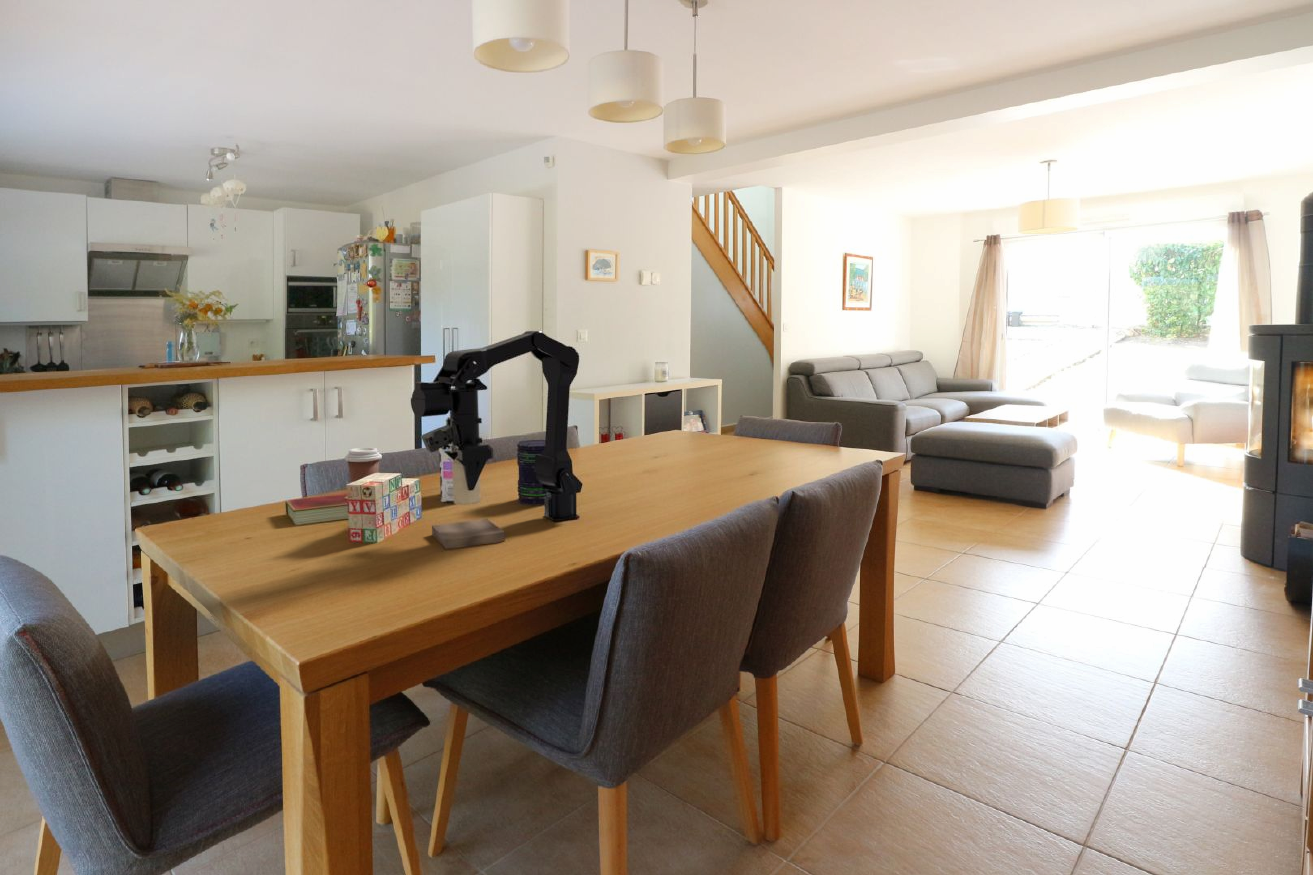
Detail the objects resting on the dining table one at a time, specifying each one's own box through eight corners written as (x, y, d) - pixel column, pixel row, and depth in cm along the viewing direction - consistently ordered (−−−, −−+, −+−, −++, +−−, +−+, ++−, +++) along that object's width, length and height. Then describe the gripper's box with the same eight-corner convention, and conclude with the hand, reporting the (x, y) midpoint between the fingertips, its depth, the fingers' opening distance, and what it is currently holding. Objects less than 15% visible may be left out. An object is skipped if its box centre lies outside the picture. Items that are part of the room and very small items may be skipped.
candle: (486, 500, 159) (484, 453, 157) (471, 506, 154) (469, 457, 152) (463, 498, 161) (462, 451, 159) (448, 503, 156) (446, 456, 154)
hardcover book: (286, 516, 177) (285, 498, 176) (378, 505, 189) (378, 488, 188) (294, 527, 167) (293, 509, 167) (391, 515, 179) (390, 497, 178)
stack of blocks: (396, 516, 176) (394, 464, 174) (422, 517, 175) (420, 465, 173) (348, 542, 155) (345, 483, 153) (377, 543, 154) (374, 484, 152)
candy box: (463, 503, 189) (461, 438, 187) (440, 503, 189) (437, 438, 187) (477, 491, 203) (475, 430, 200) (455, 491, 203) (453, 430, 201)
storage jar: (537, 494, 199) (536, 438, 197) (565, 499, 194) (564, 442, 191) (509, 501, 191) (508, 443, 189) (537, 507, 186) (536, 447, 183)
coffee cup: (352, 491, 202) (350, 446, 200) (387, 490, 203) (385, 446, 201) (342, 498, 193) (339, 452, 191) (378, 498, 194) (376, 452, 192)
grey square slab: (487, 527, 166) (487, 518, 166) (504, 541, 156) (504, 531, 156) (432, 534, 160) (431, 525, 160) (446, 549, 150) (446, 539, 150)
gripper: (414, 410, 158) (417, 483, 161) (435, 420, 142) (438, 501, 145) (466, 407, 164) (469, 478, 166) (492, 417, 148) (495, 494, 150)
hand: (466, 487), depth 157 cm, fingers closed on candle, 5 cm apart
